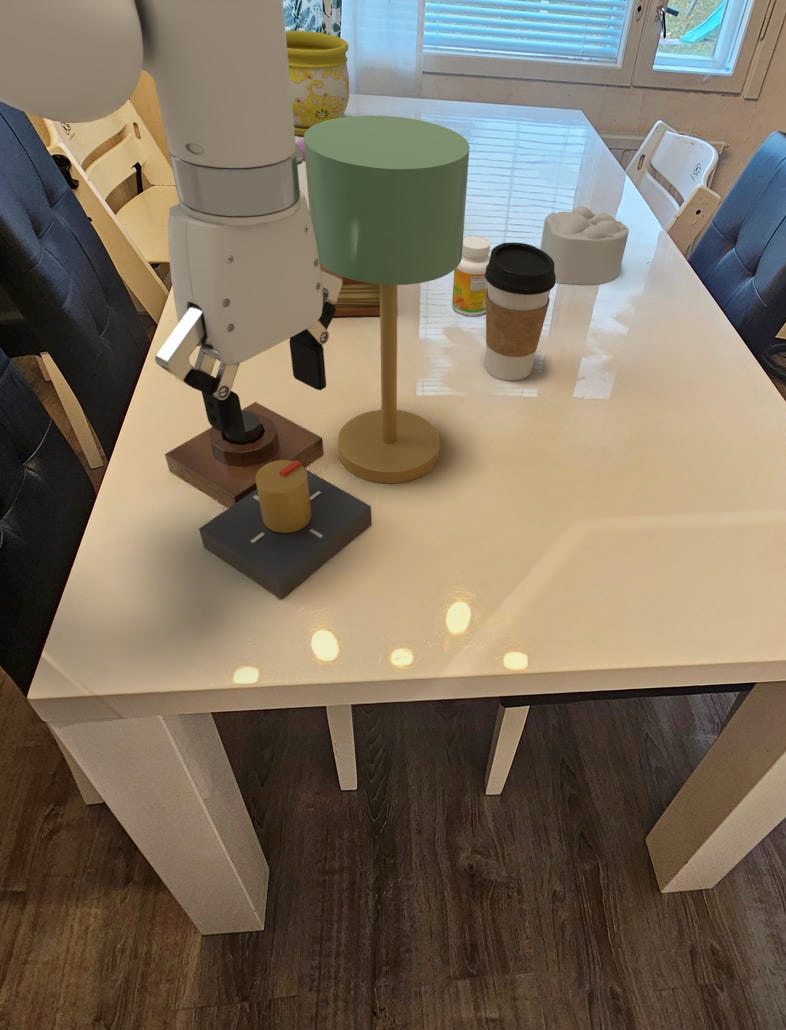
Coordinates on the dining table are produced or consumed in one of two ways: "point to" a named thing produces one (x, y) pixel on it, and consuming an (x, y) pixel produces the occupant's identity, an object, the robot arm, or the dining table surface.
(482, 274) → the supplement bottle
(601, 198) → the dining table surface
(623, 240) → the lumpy-topped squat cylinder
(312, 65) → the flowerpot
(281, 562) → the dimmer panel
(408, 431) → the lamp
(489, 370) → the coffee cup
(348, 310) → the diary
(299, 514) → the dimmer knob
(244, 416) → the power button
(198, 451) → the switch block
